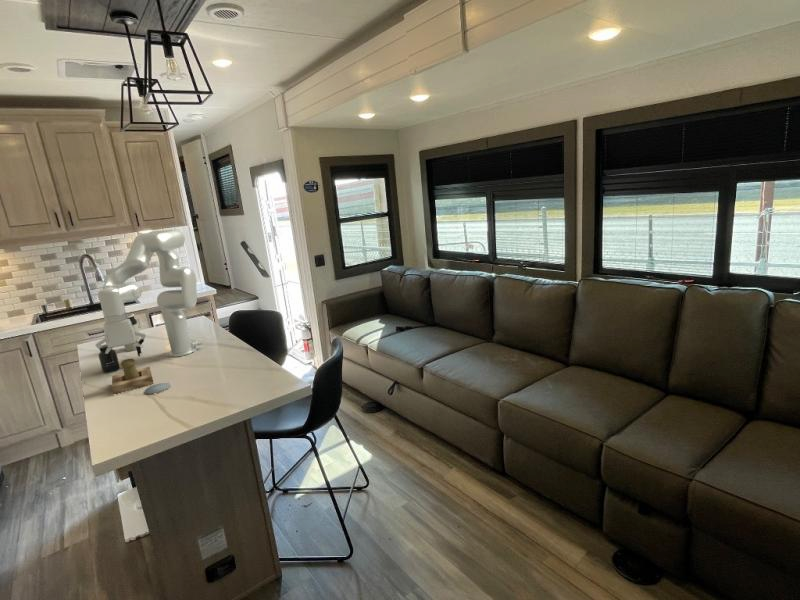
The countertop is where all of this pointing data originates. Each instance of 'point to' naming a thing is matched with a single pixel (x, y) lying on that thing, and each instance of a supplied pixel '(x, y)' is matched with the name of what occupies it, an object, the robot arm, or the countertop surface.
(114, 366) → the supplement bottle
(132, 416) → the countertop surface
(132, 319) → the travel mug
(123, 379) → the socket ring
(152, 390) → the coaster
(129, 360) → the cork
